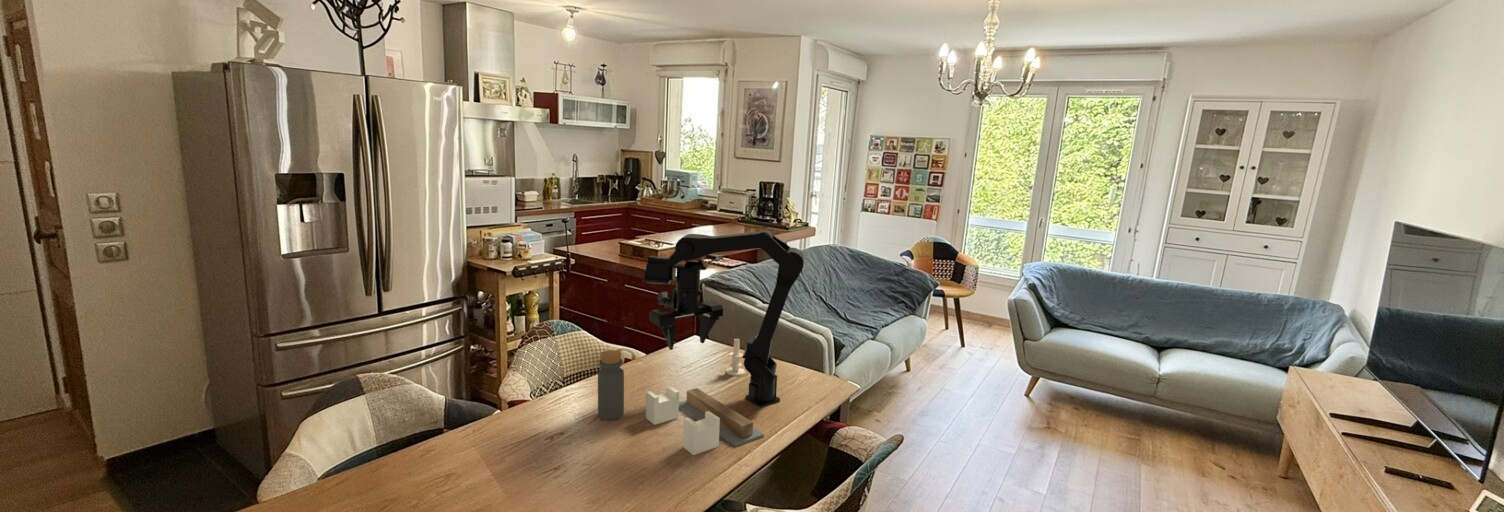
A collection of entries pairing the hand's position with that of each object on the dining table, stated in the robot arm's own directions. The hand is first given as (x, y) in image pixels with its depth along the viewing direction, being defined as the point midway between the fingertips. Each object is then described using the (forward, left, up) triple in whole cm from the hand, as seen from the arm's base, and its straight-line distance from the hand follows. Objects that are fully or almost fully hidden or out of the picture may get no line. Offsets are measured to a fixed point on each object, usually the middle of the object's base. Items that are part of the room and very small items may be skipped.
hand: (686, 346), depth 152 cm
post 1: (+12, +9, -12) cm, 19 cm away
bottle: (+21, +1, -13) cm, 25 cm away
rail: (+2, +17, -12) cm, 21 cm away
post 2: (+12, +25, -12) cm, 30 cm away
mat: (+2, +17, -12) cm, 21 cm away
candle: (-19, -4, -13) cm, 23 cm away
